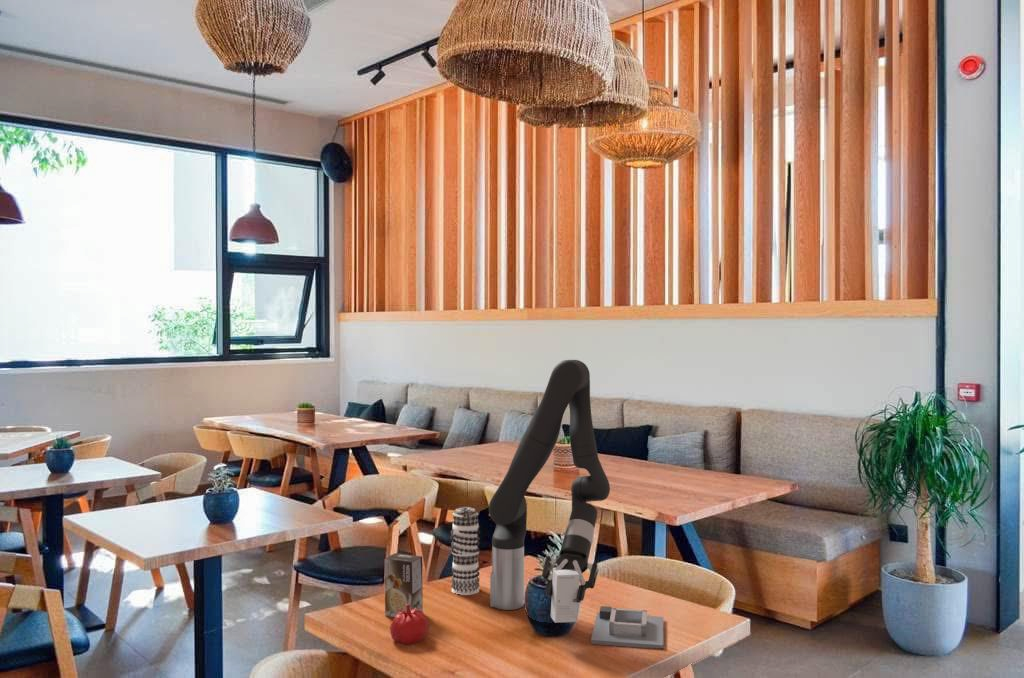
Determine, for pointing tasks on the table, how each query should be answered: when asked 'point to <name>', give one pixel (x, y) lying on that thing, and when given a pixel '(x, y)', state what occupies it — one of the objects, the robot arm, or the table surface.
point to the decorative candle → (465, 551)
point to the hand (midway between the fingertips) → (563, 598)
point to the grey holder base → (650, 641)
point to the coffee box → (403, 583)
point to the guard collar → (628, 628)
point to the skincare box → (564, 596)
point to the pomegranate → (409, 626)
